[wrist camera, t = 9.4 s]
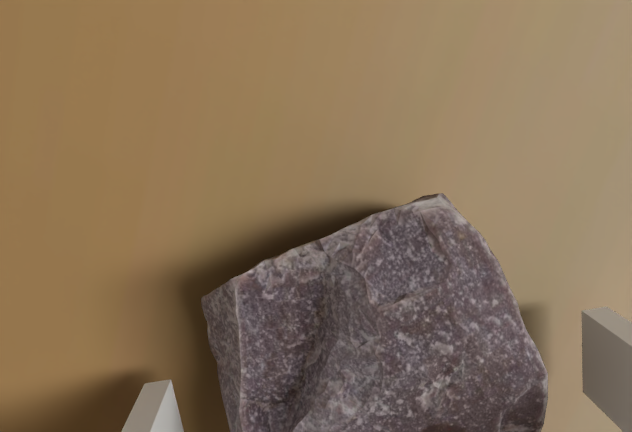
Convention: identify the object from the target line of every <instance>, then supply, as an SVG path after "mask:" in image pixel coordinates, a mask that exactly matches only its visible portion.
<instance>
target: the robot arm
mask: <svg viewBox="0 0 632 432" xmlns="http://www.w3.org/2000/svg"><path fill="white" fill-rule="evenodd" d="M582 372H583V393H584V394H585V395H586V396H587V397H589V398H590V399H591V400H592V401H593V402H594V403H595V404H596V405H597V406H598V407H599V408H600V409H601V410H602V411H603V412H604V413H605V414H606V415H607V416H608V417H609V418H610V419H611V420H612V421H613V422H614V423H615V424H616V425H617V426H618V427H619V428H620V429H621V430H622V431H623V432H632V322H630V321H629V320H627V319H625V318H624V317H622V316H621V315H619V314H618V313H616V312H615V311H613V310H611V309H610V308H608V307H601V308H595V309H589V310H583V311H582ZM121 432H184V430H183V426H182V422H181V418H180V414H179V410H178V406H177V402H176V398H175V394H174V389H173V385H172V381H171V379H169V380H163V381H157V382H151V383H145V384H144V386H143V388H142V390H141V392H140V394H139V396H138V398H137V400H136V402H135V404H134V406H133V408H132V410H131V412H130V414H129V417H128V419H127V421H126V423H125V425H124V427H123V429H122V431H121Z"/></svg>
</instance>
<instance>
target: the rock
mask: <svg viewBox="0 0 632 432" xmlns="http://www.w3.org/2000/svg"><path fill="white" fill-rule="evenodd" d="M201 305H202V309H203V312H204V316H205V319H206V321H207V325H208V328H207V333H208V339H209V346H210V349H211V352H212V354H213V356H214V358H215V359H216V361H217V373H218V378H219V383H220V389H221V394H222V399H223V403H224V407H225V411H226V416H227V420H228V424H229V428H230V432H541V429H542V427H543V425H544V419H545V412H546V406H547V400H548V373H547V370H546V368H545V365H544V363H543V361H542V358H541V356H540V353H539V351H538V349H537V347H536V345H535V344H534V342H533V340H532V339H531V337H530V336H529V334H528V332H527V330H526V328H525V325H524V322H523V320H522V317H521V314H520V311H519V307H518V303H517V301H516V299H515V297H514V295H513V293H512V291H511V289H510V287H509V285H508V282H507V280H506V278H505V275H504V273H503V271H502V268H501V266H500V264H499V262H498V260H497V259H496V257H495V256H494V254H493V253H492V251H491V250H490V248H489V246H488V244H487V242H486V240H485V239H484V238H483V236H482V235H481V234H480V233H479V232H478V231H477V230H476V229H475V228H474V227H473V226H472V225H471V224H470V223H469V222H468V221H467V220H466V219H465V218H464V217H463V216H462V215H461V214H460V213H459V212H458V211H457V209H456V208H455V207H454V205H453V204H452V203H451V202H450V201H449V200H448V198H447V197H446V196H445V195H444V194H443V193H441V194H434V195H427V196H422V197H420V198H418V199H416V200H414V201H412V202H410V203H408V204H405V205H402V206H399V207H395V208H393V209H389V210H386V211H382V212H379V213H375V214H372V215H370V216H368V217H366V218H364V219H363V220H361V221H359V222H356V223H354V224H352V225H349V226H347V227H345V228H343V229H341V230H339V231H337V232H335V233H333V234H331V235H328V236H326V237H324V238H321V239H319V240H315V241H312V242H309V243H306V244H304V245H301V246H298V247H296V248H293V249H290V250H287V251H286V252H284V253H282V254H280V255H278V256H275V257H271V258H268V259H264V260H262V261H260V262H259V263H258V264H256V265H255V266H254V267H253V268H251V269H250V270H249V271H248V272H246V273H244V274H241V275H239V276H236V277H234V278H232V279H230V280H229V281H228V282H226V283H225V284H223V285H221V286H220V287H218V288H217V289H215V290H213V291H212V292H210V293H209V294H208V295H205V296H203V297H202V298H201Z"/></svg>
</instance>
